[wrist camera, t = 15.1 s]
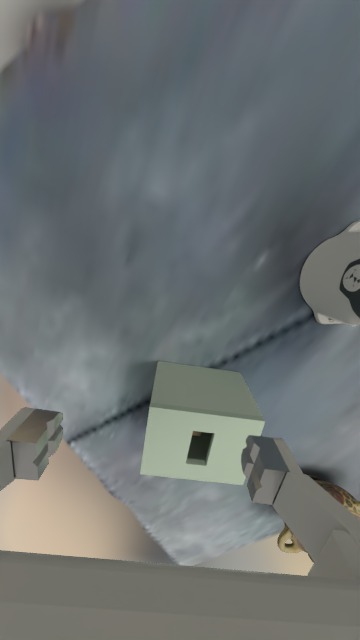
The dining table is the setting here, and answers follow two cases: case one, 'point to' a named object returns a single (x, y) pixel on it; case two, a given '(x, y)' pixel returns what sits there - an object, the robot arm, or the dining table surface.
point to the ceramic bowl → (335, 491)
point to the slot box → (199, 424)
